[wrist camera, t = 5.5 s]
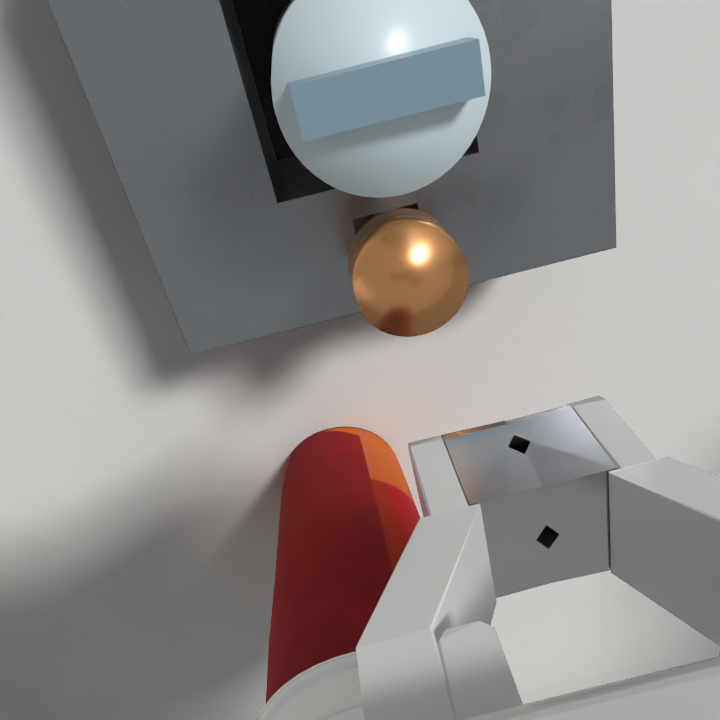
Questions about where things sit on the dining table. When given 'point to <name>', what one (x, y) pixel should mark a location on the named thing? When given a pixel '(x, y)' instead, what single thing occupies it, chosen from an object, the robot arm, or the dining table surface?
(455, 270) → the copper knob
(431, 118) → the cartridge
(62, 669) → the dining table surface
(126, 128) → the housing
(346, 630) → the paper cup
